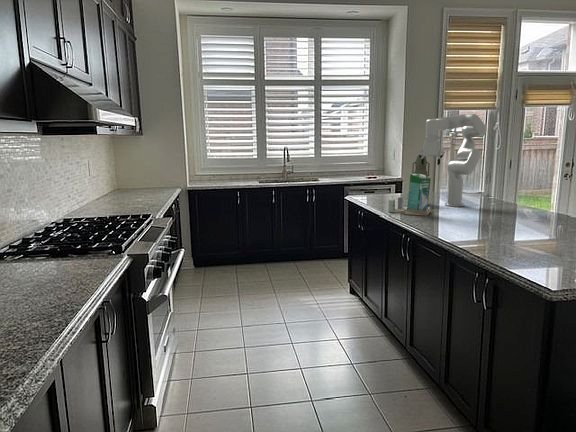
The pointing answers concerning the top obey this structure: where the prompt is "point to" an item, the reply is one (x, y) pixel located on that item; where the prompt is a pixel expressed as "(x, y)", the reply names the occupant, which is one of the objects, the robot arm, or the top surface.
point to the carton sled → (410, 212)
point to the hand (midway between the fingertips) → (430, 164)
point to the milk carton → (418, 192)
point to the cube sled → (400, 203)
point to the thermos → (420, 166)
